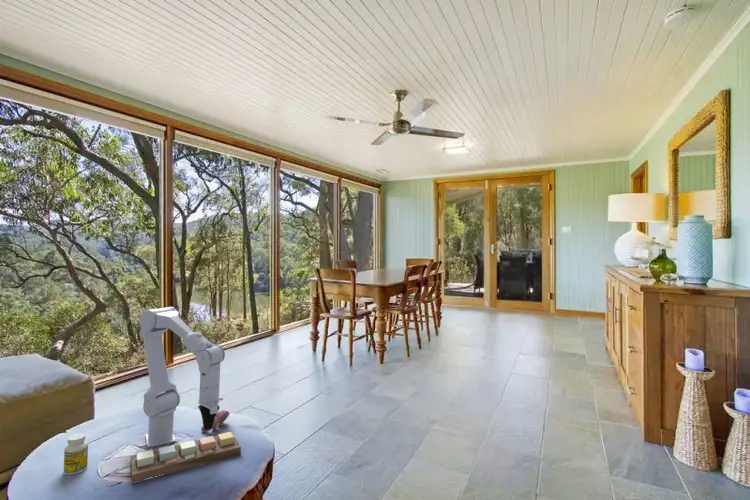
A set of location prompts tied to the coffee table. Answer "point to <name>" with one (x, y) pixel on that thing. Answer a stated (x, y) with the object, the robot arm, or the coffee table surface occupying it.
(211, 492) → the coffee table surface
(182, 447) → the sage key
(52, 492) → the coffee table surface
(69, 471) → the supplement bottle
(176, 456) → the keypad
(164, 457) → the bluegrey key
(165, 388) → the robot arm
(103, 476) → the coffee table surface
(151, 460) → the offwhite key
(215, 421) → the video game controller
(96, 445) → the coffee table surface
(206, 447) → the terracotta key
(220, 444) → the ochre key
